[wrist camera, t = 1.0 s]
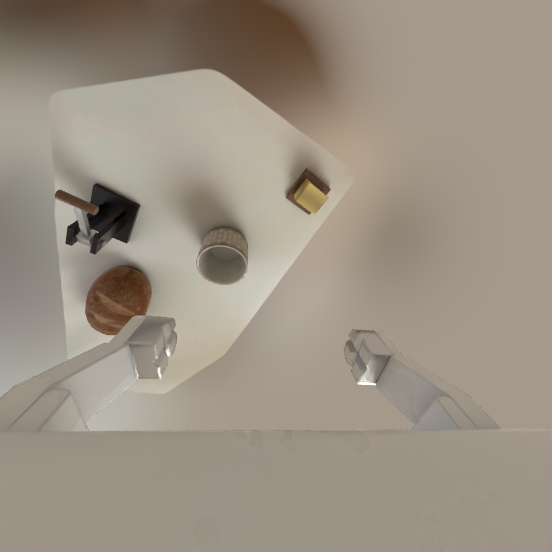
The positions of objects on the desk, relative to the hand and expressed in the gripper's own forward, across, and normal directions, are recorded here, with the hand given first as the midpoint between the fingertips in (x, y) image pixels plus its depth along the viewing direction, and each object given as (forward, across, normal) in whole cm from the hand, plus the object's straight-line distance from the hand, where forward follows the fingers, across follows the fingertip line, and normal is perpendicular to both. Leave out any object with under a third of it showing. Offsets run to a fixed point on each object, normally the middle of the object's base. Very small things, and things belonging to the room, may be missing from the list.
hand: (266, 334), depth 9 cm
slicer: (+47, +36, +7) cm, 60 cm away
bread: (+54, +42, +35) cm, 77 cm away
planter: (+51, +9, +13) cm, 53 cm away
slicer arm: (+34, +33, +5) cm, 48 cm away
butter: (+48, -12, -5) cm, 49 cm away
